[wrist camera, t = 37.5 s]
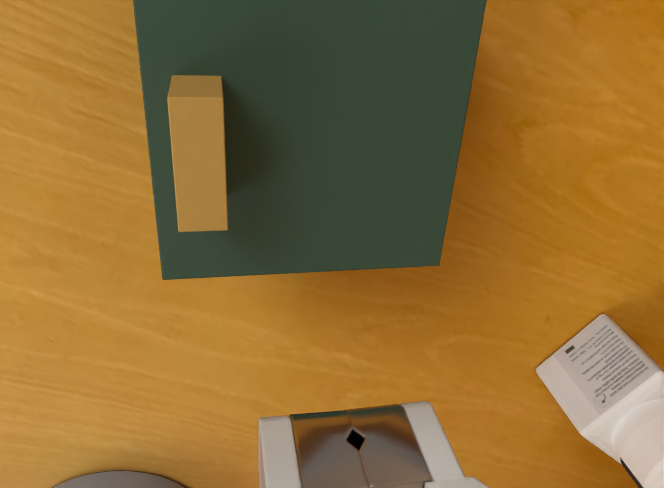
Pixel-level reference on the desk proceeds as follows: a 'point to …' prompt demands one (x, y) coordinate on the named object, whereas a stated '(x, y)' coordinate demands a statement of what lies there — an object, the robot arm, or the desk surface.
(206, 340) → the desk surface
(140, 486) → the tape roll
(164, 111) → the lid
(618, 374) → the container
